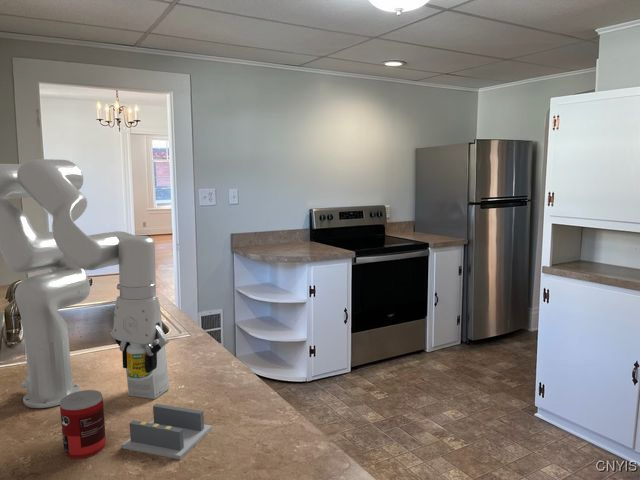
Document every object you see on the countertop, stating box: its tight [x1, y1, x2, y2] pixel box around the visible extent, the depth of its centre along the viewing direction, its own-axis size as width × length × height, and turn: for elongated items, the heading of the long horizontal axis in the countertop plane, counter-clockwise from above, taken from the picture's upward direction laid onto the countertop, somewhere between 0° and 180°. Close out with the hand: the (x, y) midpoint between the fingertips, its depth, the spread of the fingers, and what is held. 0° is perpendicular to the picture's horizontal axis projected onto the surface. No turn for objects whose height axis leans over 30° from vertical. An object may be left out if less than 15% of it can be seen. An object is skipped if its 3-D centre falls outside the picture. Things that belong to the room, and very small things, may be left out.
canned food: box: [59, 389, 107, 459], centre depth 99 cm, size 8×8×11 cm
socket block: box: [121, 403, 213, 461], centre depth 103 cm, size 14×12×5 cm
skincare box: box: [125, 339, 170, 400], centre depth 124 cm, size 8×7×16 cm
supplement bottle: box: [126, 343, 152, 381], centre depth 110 cm, size 5×5×10 cm
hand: (139, 367), depth 111 cm, fingers closed on supplement bottle, 5 cm apart
